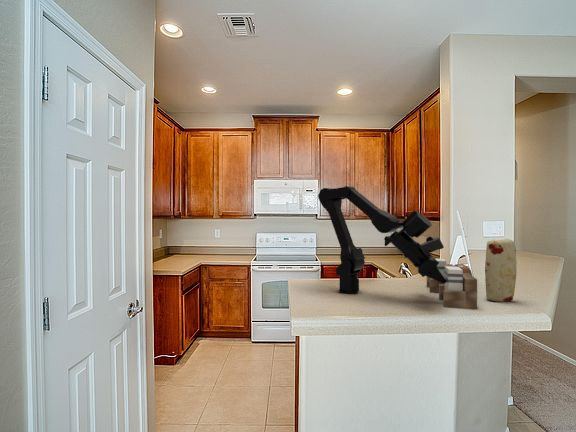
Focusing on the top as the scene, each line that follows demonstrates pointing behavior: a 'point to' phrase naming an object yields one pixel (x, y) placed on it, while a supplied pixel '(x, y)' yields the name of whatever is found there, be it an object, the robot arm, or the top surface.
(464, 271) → the tin
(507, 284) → the food model
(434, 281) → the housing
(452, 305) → the housing
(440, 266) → the pale green box
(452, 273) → the white rectangular block
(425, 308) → the top surface
